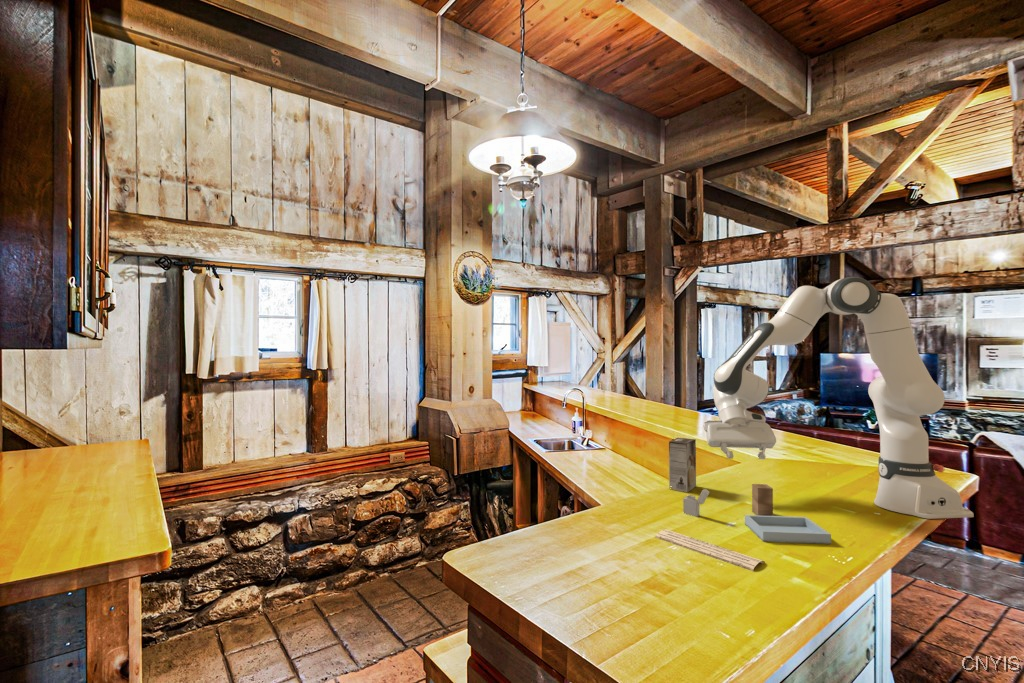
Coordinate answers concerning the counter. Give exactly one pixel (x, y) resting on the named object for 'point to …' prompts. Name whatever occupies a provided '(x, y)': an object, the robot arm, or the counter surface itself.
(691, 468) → the coffee box
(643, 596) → the counter surface
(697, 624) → the counter surface
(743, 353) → the robot arm
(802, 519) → the slate tray
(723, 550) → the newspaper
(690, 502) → the lighter
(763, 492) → the walnut block
